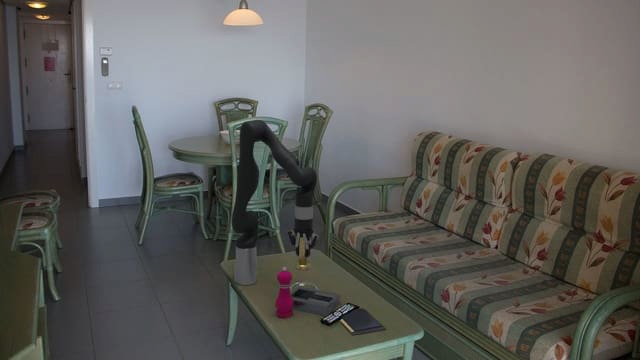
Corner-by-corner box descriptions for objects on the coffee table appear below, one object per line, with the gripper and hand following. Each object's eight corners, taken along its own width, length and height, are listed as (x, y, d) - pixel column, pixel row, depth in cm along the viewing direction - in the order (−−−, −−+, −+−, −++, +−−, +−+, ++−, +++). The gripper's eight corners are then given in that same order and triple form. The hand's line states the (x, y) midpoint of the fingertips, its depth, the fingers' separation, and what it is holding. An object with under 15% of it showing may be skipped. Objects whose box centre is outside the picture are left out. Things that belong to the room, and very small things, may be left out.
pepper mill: (286, 319, 221) (286, 272, 216) (271, 315, 224) (271, 268, 220) (296, 313, 227) (297, 266, 222) (282, 308, 230) (282, 262, 226)
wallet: (387, 327, 214) (351, 333, 209) (387, 331, 214) (350, 337, 209) (365, 305, 232) (331, 310, 227) (365, 309, 232) (331, 314, 227)
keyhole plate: (284, 306, 232) (284, 298, 231) (299, 294, 245) (299, 286, 244) (326, 316, 225) (327, 307, 224) (339, 302, 237) (340, 294, 236)
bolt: (292, 268, 232) (292, 237, 229) (299, 263, 237) (299, 232, 234) (306, 271, 229) (307, 239, 226) (312, 266, 235) (313, 235, 232)
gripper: (284, 216, 228) (283, 256, 231) (315, 220, 222) (314, 262, 226) (292, 211, 234) (291, 250, 238) (323, 216, 229) (322, 256, 233)
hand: (303, 255), depth 232 cm, fingers closed on bolt, 3 cm apart
